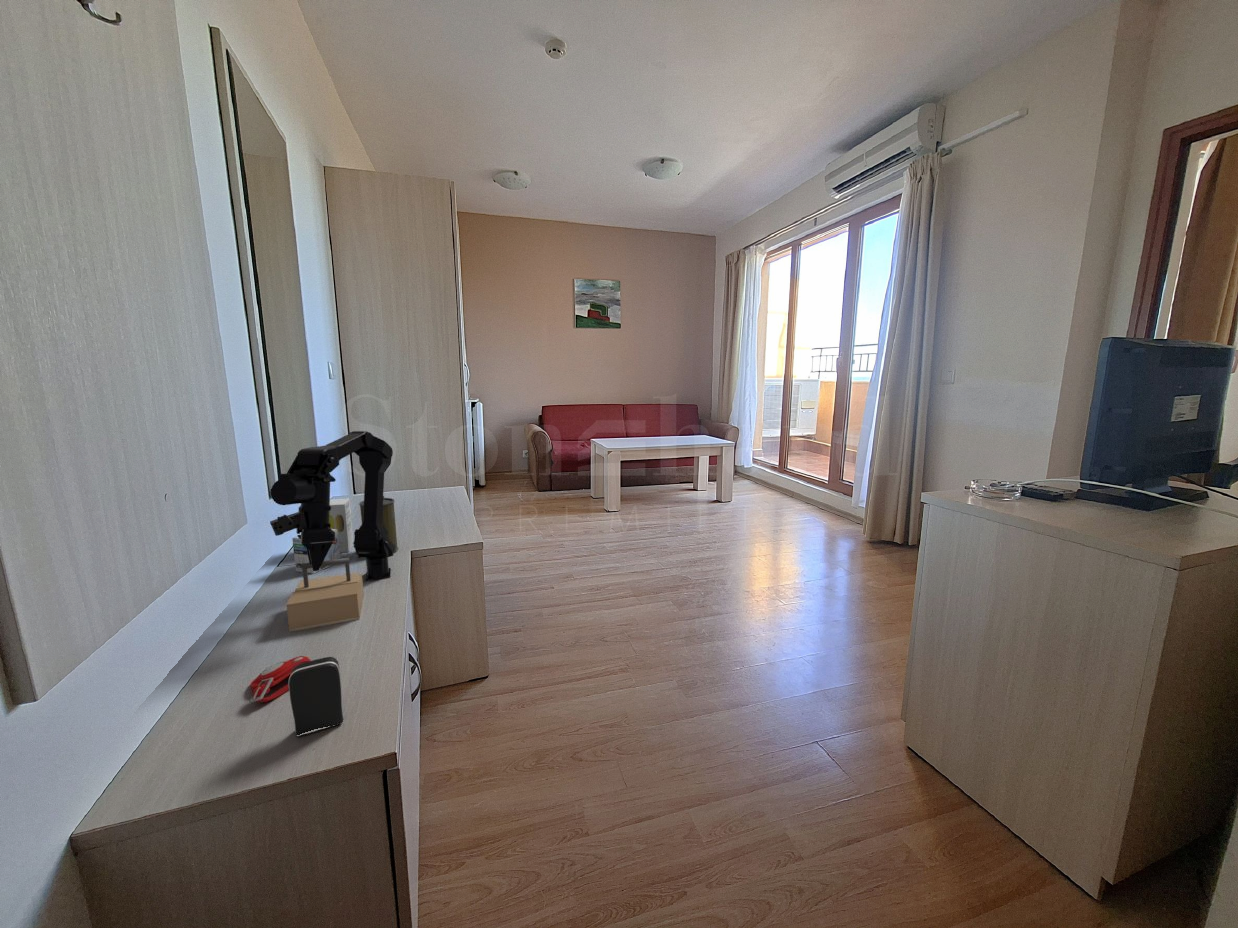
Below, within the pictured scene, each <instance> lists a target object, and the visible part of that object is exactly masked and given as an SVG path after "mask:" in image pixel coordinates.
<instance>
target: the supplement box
mask: <svg viewBox="0 0 1238 928" xmlns="http://www.w3.org/2000/svg"><path fill="white" fill-rule="evenodd" d="M330 506H331V511H330V514H329V523H330V529H337V530H338V540H339V551H340V554H343V553H349V552H350V550H351V549H352V547H353V546H354V544H353V543H354V532H353V524H352V523H353V521H352V519H353V518H352V511H351V498H350V497H347V498H333V499H332V498H330Z"/></svg>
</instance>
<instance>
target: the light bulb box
mask: <svg viewBox="0 0 1238 928" xmlns="http://www.w3.org/2000/svg"><path fill="white" fill-rule="evenodd" d="M332 530H333V531H334V532H335V541H333V544H332V545H331V547H330V549H329V551H328V553H327V555H326V557H325V559H324V561H326V560H334V559H341V555H340V554H341V553H340V551H339V540H338V530H337V529H332ZM291 541H292V546H293V557H294V559H293V560H294V566H295V567H294V568H295V572H297V573H303V570H302V568H301V564H303V563H309V559H308V554H307V550H306V547H305V546H303V545H302V543H301V539H300V538H299V537H298V536H294V537H292V539H291ZM329 567H330V566H324V567H320V569H319V571H313V568H309V569H307V573H308V574H313V575H314V574H316V573H318V572H320V571H322V570H325V569H326V568H329Z"/></svg>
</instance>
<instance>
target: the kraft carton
mask: <svg viewBox="0 0 1238 928" xmlns="http://www.w3.org/2000/svg"><path fill="white" fill-rule="evenodd" d="M364 593H365V592H364V583H363V575H362V573H360V577H359V581H358V583H351V584H345V585H338V586H331V587H325V588H318V589H311V590H305V591H298V592H295V591H293V592H292V593H291V595H290V597H289V599H288V601H287V603H286V605H285V606H286V614H287V622H288V630H289V633H290V632H296V631H300V630H306V629H307V630H308V629H314V628H319V627H324V626H330V625H335V624H341V623H345V622H352V621H356V620H357V621H358V620H360V619H361V611H362V606H363V603H364V602H363V601H364V596H365V595H364Z"/></svg>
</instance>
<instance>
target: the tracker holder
mask: <svg viewBox="0 0 1238 928" xmlns="http://www.w3.org/2000/svg"><path fill="white" fill-rule="evenodd" d="M308 661H312V660H311V659H310V658H309V657H308V656H306V655H305V656H304V655H299V656H296V657H293V658H291V659H288V660H285V661H280V662H278V663H276V664H275V663H274V664H273V665H270V666H269V667H268V668H266V669H264V670H263V671H262V672H261V673H259V675H258V676H257V677H255V679H253V680H252V681H251V682H250V684H249V687H250V688H251V689H252V691H253V692H252V694H251V698H250V699H249V702H250V703H253V702H255V703H260V704H261V703H266V702H269V701H271V700H274V699H276V698H278V697H280V696H281V695H283V694H285V693H286V692H289V683H287V684H286V685H284V686H282V687H281V688H280V689H278V690H276V691H275V692H274V693H272V694H270V695H269V696H267V697H264V696H265V695H266V694H268V693H269V692H270V691H271V689H270V688H271V687H273V686H276V685H277V684H279V683H280V682H282V681H284V679H286V678H288V677H290V675H291V672H292V670H293V668H294V667H295V666H297V665H298V664H301V663H305V662H308Z"/></svg>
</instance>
